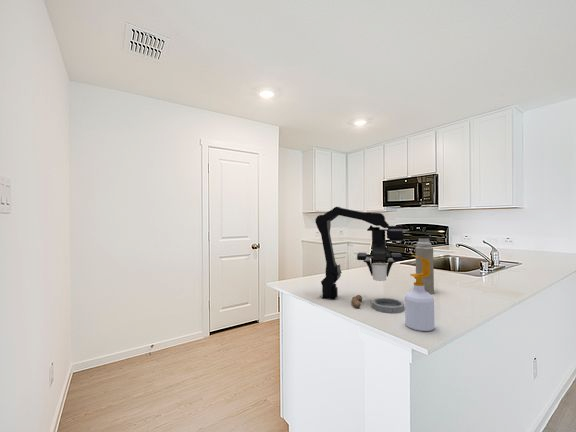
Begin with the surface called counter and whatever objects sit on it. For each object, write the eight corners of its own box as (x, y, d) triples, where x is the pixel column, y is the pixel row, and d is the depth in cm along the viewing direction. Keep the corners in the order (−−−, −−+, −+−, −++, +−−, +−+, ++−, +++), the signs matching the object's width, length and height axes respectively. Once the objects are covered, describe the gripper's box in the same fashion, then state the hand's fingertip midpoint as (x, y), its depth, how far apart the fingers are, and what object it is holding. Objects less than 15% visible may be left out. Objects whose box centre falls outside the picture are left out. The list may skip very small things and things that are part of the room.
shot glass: (389, 281, 116) (388, 265, 116) (372, 281, 118) (372, 265, 118) (386, 277, 123) (385, 262, 123) (370, 277, 124) (370, 262, 124)
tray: (371, 311, 109) (371, 305, 109) (372, 302, 121) (372, 297, 121) (405, 314, 105) (405, 308, 105) (402, 304, 117) (402, 299, 117)
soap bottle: (400, 322, 98) (399, 253, 98) (424, 320, 98) (423, 253, 99) (414, 332, 89) (412, 257, 89) (440, 331, 90) (439, 256, 90)
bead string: (360, 309, 112) (360, 301, 112) (350, 308, 113) (350, 300, 113) (362, 300, 123) (362, 294, 123) (353, 300, 124) (352, 293, 124)
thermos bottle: (417, 289, 141) (416, 235, 141) (434, 291, 137) (433, 235, 137) (415, 293, 134) (414, 236, 134) (433, 295, 130) (432, 236, 130)
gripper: (356, 242, 115) (356, 279, 115) (403, 242, 110) (404, 281, 110) (357, 240, 126) (358, 273, 126) (400, 240, 121) (401, 275, 120)
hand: (379, 276), depth 120 cm, fingers closed on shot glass, 6 cm apart
